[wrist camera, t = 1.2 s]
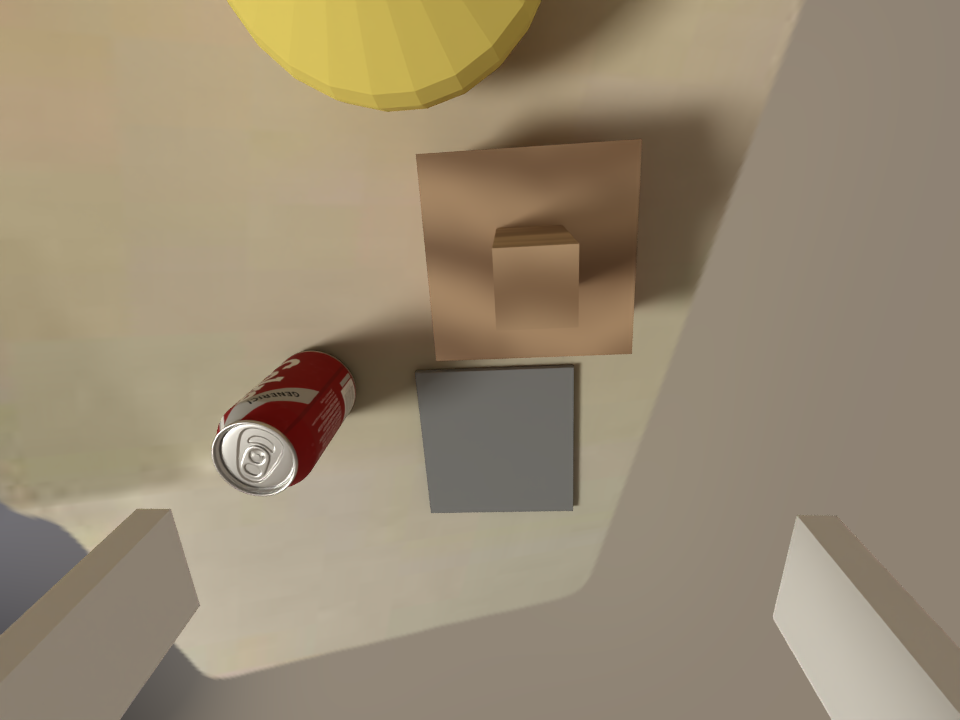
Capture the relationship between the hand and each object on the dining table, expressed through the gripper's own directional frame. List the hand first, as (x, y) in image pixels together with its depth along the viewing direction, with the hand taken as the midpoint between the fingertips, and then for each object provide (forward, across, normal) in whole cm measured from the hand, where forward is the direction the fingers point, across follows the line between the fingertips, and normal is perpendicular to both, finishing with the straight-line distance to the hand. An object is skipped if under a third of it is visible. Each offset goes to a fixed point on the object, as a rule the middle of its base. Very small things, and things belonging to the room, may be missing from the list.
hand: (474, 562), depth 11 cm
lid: (+24, +2, +2) cm, 25 cm away
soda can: (+30, -16, -9) cm, 35 cm away
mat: (+30, 0, -15) cm, 34 cm away
